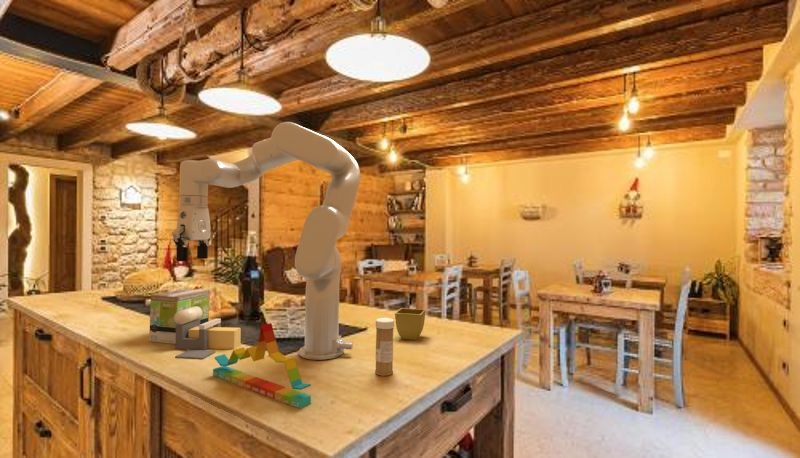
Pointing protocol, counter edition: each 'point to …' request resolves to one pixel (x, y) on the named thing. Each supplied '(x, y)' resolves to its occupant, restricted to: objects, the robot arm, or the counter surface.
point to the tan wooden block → (220, 337)
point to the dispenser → (190, 320)
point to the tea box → (174, 312)
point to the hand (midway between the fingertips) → (192, 259)
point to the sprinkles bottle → (384, 346)
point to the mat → (195, 354)
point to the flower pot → (410, 322)
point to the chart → (260, 384)
